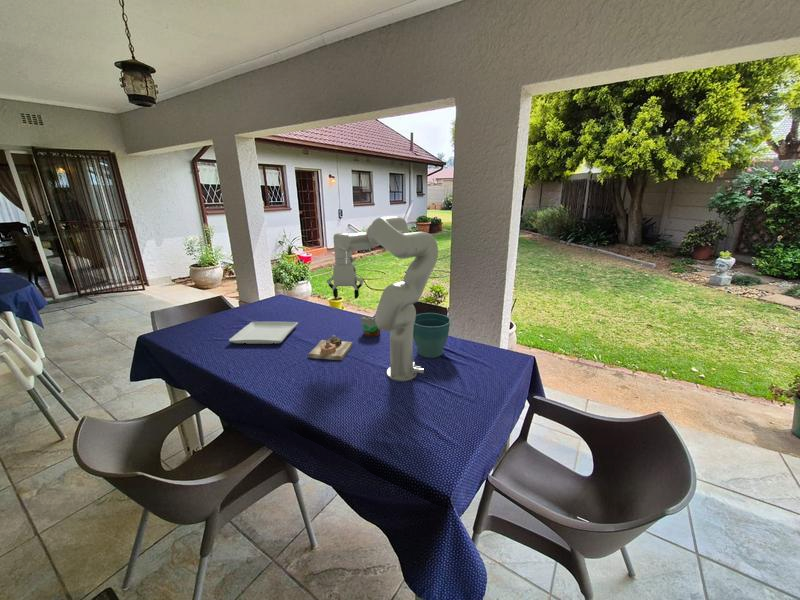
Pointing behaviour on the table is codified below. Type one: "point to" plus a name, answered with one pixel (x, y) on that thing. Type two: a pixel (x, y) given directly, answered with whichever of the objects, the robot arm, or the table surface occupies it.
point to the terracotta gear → (328, 349)
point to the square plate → (264, 332)
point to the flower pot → (431, 334)
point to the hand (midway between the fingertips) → (346, 297)
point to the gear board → (335, 354)
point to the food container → (370, 327)
